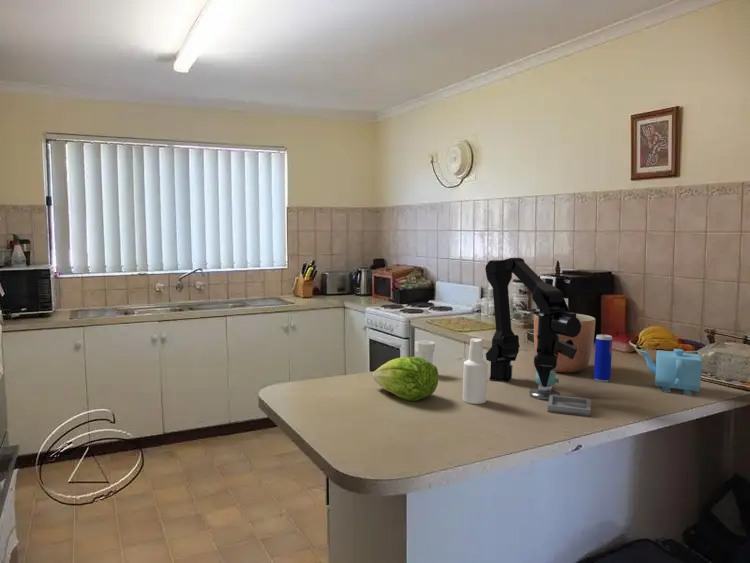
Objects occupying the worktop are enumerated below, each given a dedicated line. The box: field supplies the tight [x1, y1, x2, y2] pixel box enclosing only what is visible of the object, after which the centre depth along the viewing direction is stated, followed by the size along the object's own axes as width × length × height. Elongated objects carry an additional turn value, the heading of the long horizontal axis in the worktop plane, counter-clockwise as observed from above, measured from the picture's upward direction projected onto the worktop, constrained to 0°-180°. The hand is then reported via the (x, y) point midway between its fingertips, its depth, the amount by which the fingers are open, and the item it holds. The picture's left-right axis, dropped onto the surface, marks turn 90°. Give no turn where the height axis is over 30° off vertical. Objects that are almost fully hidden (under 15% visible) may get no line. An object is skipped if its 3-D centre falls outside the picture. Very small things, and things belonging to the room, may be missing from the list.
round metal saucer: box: [528, 384, 562, 401], centre depth 176 cm, size 9×9×4 cm
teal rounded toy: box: [535, 369, 560, 386], centre depth 175 cm, size 7×6×4 cm
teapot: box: [637, 348, 703, 395], centre depth 186 cm, size 18×16×13 cm
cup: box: [414, 340, 436, 364], centre depth 199 cm, size 7×7×11 cm
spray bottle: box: [462, 337, 489, 405], centre depth 169 cm, size 7×7×18 cm
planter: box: [533, 313, 596, 374], centre depth 209 cm, size 21×21×19 cm
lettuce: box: [372, 356, 439, 402], centre depth 174 cm, size 13×22×14 cm
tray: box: [547, 395, 592, 418], centre depth 164 cm, size 11×11×2 cm
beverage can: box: [593, 334, 613, 383], centre depth 195 cm, size 5×5×15 cm
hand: (545, 382), depth 175 cm, fingers open, 9 cm apart
